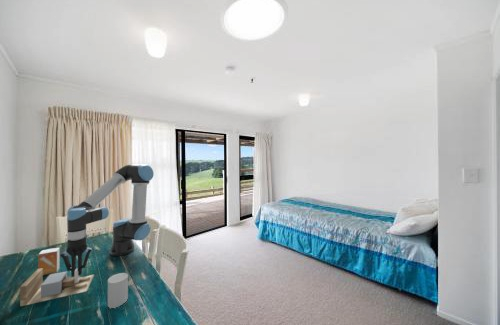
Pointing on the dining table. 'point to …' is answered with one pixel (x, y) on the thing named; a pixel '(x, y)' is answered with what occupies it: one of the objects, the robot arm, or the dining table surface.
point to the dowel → (68, 282)
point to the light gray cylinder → (117, 290)
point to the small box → (49, 260)
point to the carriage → (53, 284)
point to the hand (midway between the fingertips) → (76, 281)
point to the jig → (32, 294)
